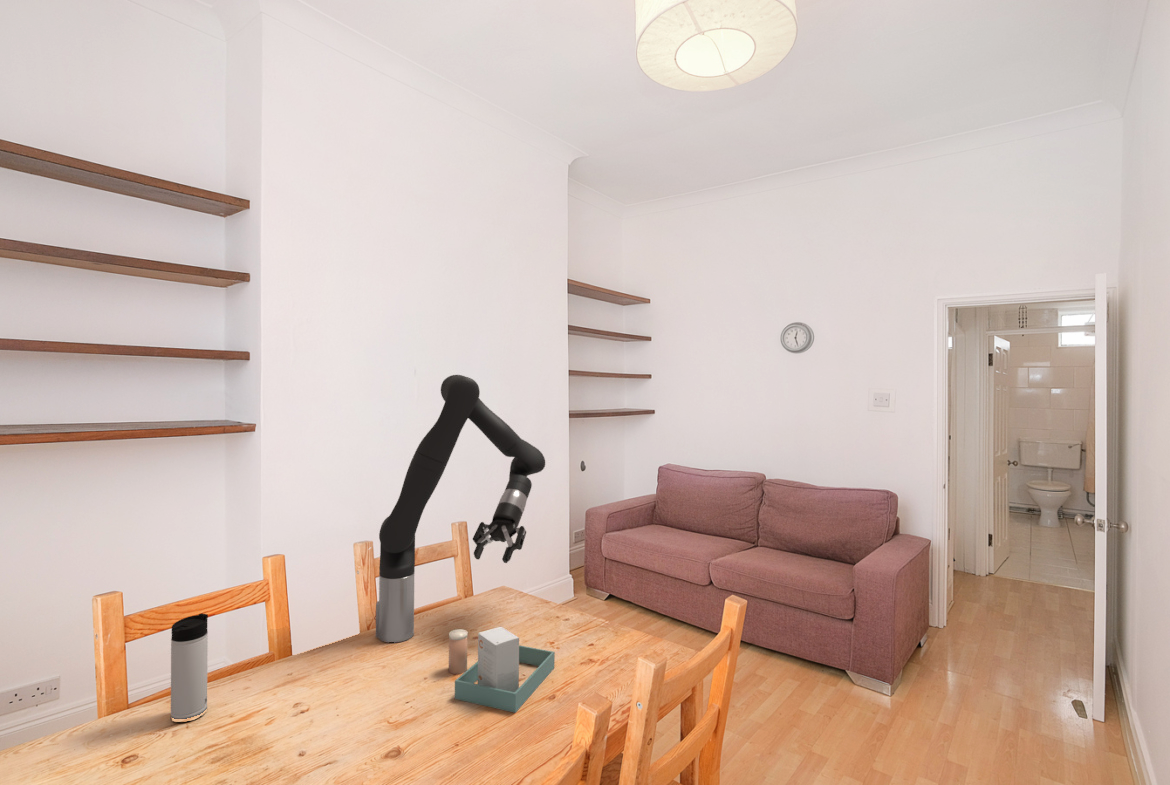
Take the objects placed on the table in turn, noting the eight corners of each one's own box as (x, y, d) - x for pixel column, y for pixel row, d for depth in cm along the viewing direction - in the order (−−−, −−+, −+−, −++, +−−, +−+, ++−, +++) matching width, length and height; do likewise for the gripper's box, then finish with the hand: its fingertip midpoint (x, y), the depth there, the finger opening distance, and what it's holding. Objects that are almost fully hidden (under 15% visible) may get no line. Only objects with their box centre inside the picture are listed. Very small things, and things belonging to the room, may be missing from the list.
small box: (519, 695, 130) (520, 637, 130) (494, 704, 126) (495, 645, 126) (500, 680, 136) (501, 625, 136) (476, 689, 132) (477, 632, 132)
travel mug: (215, 709, 122) (216, 615, 122) (185, 726, 116) (185, 627, 116) (194, 703, 124) (195, 611, 124) (163, 720, 118) (163, 623, 118)
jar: (445, 672, 140) (445, 635, 139) (455, 664, 144) (455, 628, 144) (460, 675, 138) (461, 638, 138) (470, 667, 142) (471, 630, 142)
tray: (454, 698, 128) (454, 680, 128) (500, 657, 148) (500, 641, 148) (515, 712, 123) (515, 694, 123) (554, 667, 142) (554, 651, 142)
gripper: (484, 499, 166) (462, 549, 155) (528, 503, 161) (509, 555, 150) (493, 514, 171) (472, 563, 160) (536, 518, 166) (518, 569, 155)
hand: (490, 559), depth 155 cm, fingers open, 8 cm apart
